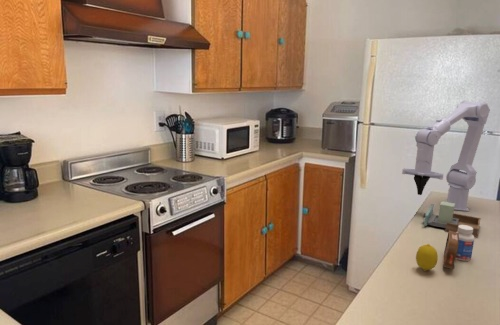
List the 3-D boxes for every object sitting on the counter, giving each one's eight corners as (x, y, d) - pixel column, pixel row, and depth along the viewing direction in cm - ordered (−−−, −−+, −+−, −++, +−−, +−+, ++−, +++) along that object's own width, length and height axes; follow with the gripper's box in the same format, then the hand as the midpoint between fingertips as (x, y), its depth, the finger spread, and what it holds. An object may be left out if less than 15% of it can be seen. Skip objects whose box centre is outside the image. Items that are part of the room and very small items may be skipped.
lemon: (411, 270, 111) (414, 244, 109) (419, 264, 115) (422, 238, 113) (431, 277, 107) (434, 250, 106) (438, 270, 111) (442, 244, 109)
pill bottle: (463, 262, 116) (468, 232, 114) (447, 255, 121) (451, 225, 118) (475, 258, 119) (479, 228, 116) (458, 251, 123) (462, 222, 121)
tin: (444, 250, 123) (447, 225, 122) (455, 253, 122) (459, 227, 120) (442, 272, 110) (446, 244, 109) (454, 274, 109) (458, 246, 107)
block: (439, 219, 147) (441, 201, 145) (452, 221, 145) (454, 203, 143) (437, 222, 143) (440, 204, 142) (450, 225, 141) (453, 206, 139)
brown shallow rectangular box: (449, 220, 150) (450, 212, 150) (479, 226, 145) (480, 218, 144) (444, 231, 140) (446, 223, 139) (477, 237, 134) (478, 229, 134)
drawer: (427, 213, 155) (428, 203, 154) (459, 219, 149) (460, 209, 148) (420, 224, 143) (421, 214, 142) (455, 232, 137) (456, 221, 136)
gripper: (402, 159, 152) (398, 193, 155) (443, 165, 144) (438, 200, 148) (405, 156, 158) (402, 189, 161) (445, 161, 150) (441, 195, 153)
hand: (419, 194), depth 155 cm, fingers closed
